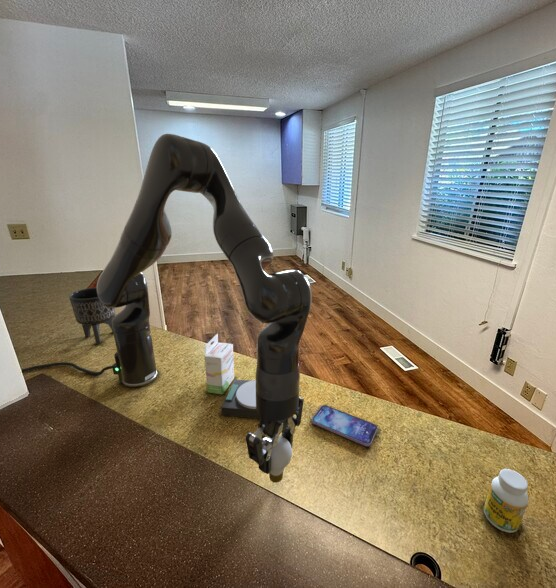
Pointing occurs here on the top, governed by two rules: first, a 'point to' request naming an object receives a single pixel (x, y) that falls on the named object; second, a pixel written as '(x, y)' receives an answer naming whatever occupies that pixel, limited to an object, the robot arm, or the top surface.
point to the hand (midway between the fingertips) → (276, 458)
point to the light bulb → (279, 458)
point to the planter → (91, 311)
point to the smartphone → (345, 425)
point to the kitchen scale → (241, 400)
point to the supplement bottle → (507, 500)
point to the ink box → (218, 366)
